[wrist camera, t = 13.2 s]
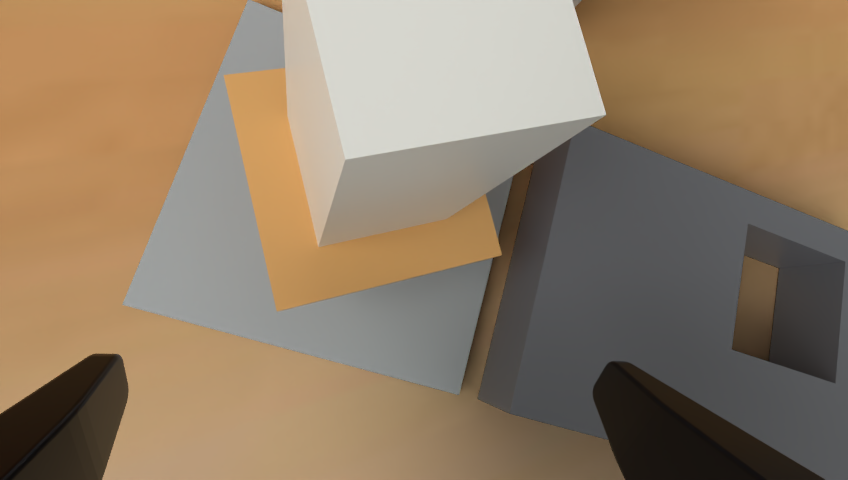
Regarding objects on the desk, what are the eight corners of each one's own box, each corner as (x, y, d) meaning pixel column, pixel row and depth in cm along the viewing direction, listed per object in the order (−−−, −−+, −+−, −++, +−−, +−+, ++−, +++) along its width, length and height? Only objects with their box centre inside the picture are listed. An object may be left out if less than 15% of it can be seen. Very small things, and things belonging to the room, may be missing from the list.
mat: (454, 392, 19) (458, 395, 18) (128, 305, 17) (122, 304, 16) (522, 117, 21) (529, 112, 21) (249, 8, 19) (248, -1, 19)
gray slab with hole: (798, 485, 22) (872, 510, 19) (477, 398, 19) (509, 413, 16) (820, 255, 25) (889, 248, 22) (538, 146, 21) (575, 119, 19)
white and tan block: (463, 266, 19) (713, 191, 8) (280, 312, 17) (248, 303, 6) (419, 98, 20) (589, -206, 8) (238, 124, 18) (132, -227, 6)
